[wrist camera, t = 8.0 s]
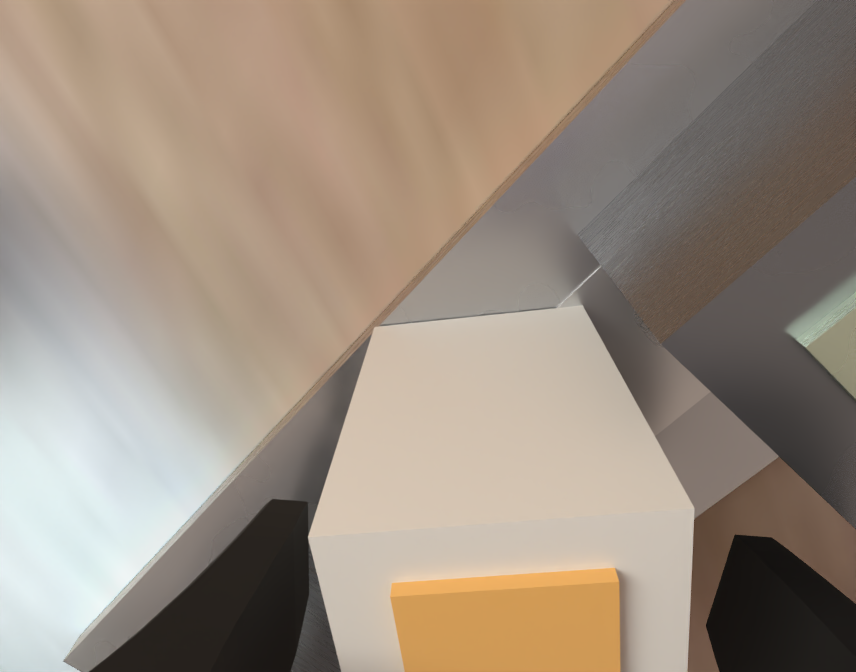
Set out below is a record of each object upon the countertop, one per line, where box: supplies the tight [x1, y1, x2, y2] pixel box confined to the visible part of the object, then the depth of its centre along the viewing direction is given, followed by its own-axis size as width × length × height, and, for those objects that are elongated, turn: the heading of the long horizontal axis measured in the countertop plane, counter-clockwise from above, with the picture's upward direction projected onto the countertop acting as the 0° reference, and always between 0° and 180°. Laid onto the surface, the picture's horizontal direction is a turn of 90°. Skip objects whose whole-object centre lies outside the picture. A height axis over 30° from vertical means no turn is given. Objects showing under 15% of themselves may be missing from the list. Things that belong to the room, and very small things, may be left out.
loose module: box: [308, 305, 695, 672], centre depth 10 cm, size 4×5×6 cm
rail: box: [63, 0, 856, 672], centre depth 11 cm, size 8×24×6 cm, turn 138°
